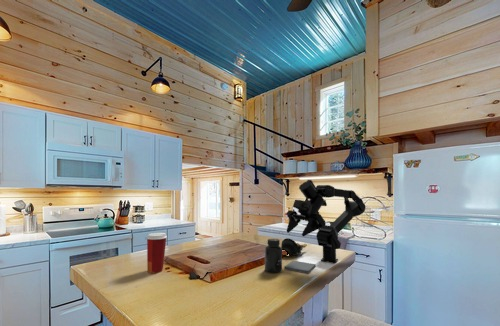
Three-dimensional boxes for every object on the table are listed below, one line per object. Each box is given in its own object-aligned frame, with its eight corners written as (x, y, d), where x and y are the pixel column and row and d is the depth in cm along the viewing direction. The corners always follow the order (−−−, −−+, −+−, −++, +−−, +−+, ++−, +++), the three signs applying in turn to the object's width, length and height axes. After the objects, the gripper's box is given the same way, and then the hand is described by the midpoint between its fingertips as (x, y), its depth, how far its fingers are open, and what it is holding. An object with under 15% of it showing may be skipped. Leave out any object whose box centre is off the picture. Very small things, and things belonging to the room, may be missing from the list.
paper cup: (168, 268, 99) (170, 232, 101) (160, 274, 92) (161, 236, 93) (150, 267, 100) (152, 232, 101) (140, 273, 92) (142, 235, 94)
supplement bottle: (282, 273, 94) (282, 241, 95) (265, 273, 94) (265, 241, 96) (281, 268, 101) (281, 238, 102) (264, 267, 101) (264, 237, 102)
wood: (209, 281, 87) (210, 272, 87) (188, 281, 87) (188, 272, 87) (214, 262, 109) (215, 255, 109) (198, 262, 109) (198, 255, 109)
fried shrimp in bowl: (273, 246, 119) (288, 229, 134) (284, 267, 118) (298, 248, 133) (288, 242, 114) (302, 225, 128) (300, 263, 113) (312, 243, 128)
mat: (293, 262, 108) (292, 260, 108) (315, 266, 103) (315, 264, 103) (284, 269, 100) (284, 266, 100) (308, 273, 94) (308, 270, 95)
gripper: (289, 192, 115) (270, 218, 108) (320, 193, 99) (300, 223, 92) (301, 209, 118) (284, 235, 111) (333, 213, 102) (315, 242, 95)
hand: (294, 233), depth 102 cm, fingers open, 9 cm apart
